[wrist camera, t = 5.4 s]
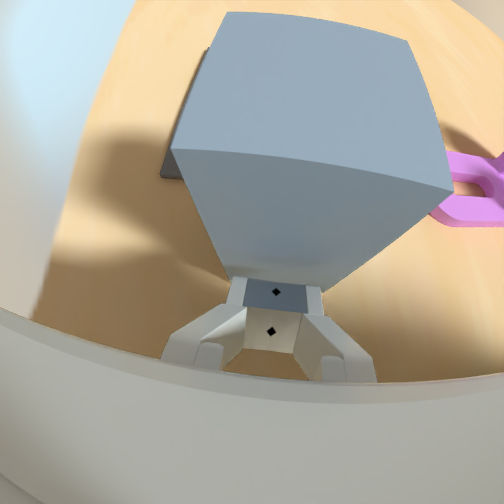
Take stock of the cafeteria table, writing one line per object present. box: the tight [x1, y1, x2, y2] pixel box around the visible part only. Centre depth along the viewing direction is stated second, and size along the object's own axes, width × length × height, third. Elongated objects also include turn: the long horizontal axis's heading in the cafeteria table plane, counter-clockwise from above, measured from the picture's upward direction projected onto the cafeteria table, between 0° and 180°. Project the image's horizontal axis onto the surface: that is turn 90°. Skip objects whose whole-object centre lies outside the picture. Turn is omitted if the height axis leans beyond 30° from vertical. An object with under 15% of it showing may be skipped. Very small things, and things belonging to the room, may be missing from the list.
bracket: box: [429, 151, 504, 227], centre depth 14 cm, size 13×6×7 cm, turn 92°
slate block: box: [171, 12, 454, 294], centre depth 11 cm, size 5×5×12 cm
